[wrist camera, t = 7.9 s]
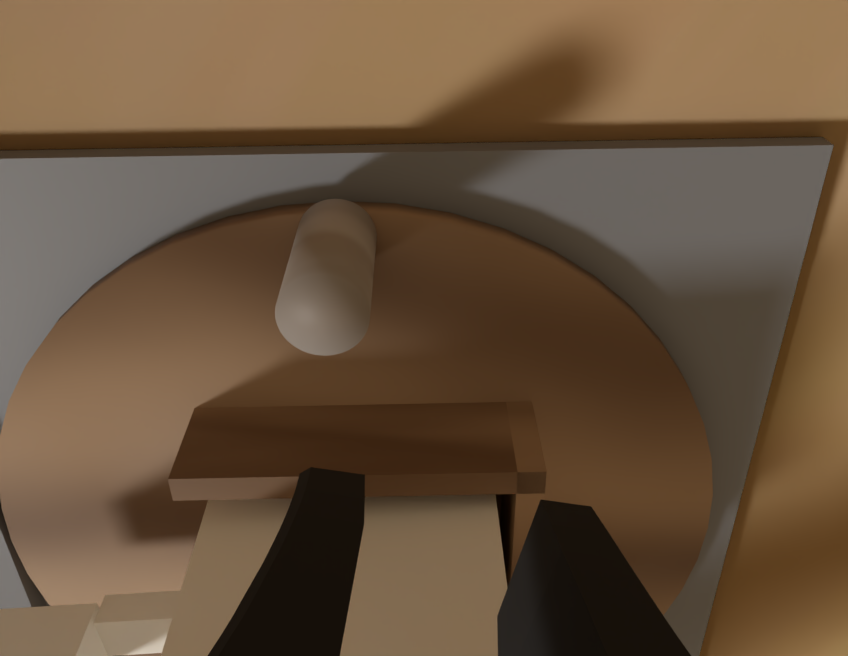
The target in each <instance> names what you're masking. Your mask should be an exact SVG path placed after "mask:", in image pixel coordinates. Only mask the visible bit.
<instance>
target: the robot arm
mask: <svg viewBox="0 0 848 656" xmlns="http://www.w3.org/2000/svg"><path fill="white" fill-rule="evenodd" d="M364 510H365V475H364V474H357V473H350V472H343V471H335V470H328V469H321V468H314V467H310V468H309V469H307V470H305V471H303V472H301V473H300V474H299V478H298V482H297V486H296V489H295V492H294V495H293V498H292V500H291V503H290V506H289V509H288V511H287V513H286V516H285V518H284V520H283V523H282V525H281V527H280V529H279V531H278V533H277V535H276V538H275V540H274V542H273V544H272V546H271V548H270V550H269V552H268V554H267V556H266V558H265V560H264V562H263V563H262V565H261V567H260V569H259V571H258V572H257V574H256V576H255V578H254V579H253V581H252V583H251V585H250V586H249V588H248V590H247V592H246V593H245V595H244V597H243V599H242V600H241V602H240V604H239V606H238V608H237V609H236V611H235V613H234V615H233V616H232V618H231V620H230V621H229V623H228V625H227V626H226V628H225V629H224V631H223V633H222V634H221V636H220V637H219V639H218V640H217V642H216V643H215V645H214V646H213V648H212V649H211V651H210V653H209V654H208V656H340V652H341V646H342V641H343V636H344V630H345V625H346V619H347V614H348V609H349V603H350V598H351V593H352V587H353V582H354V576H355V571H356V566H357V560H358V555H359V549H360V544H361V539H362V533H363V528H364ZM497 631H498V656H691V655H690V653H689V652H688V650H687V649H686V648H685V646H684V645H683V643H682V642H681V640H680V639H679V638H678V636H677V635H676V633H675V632H674V630H673V629H672V627H671V626H670V624H669V623H668V622H667V620H666V619H665V617H664V616H663V614H662V613H661V611H660V610H659V608H658V607H657V605H656V604H655V602H654V601H653V599H652V598H651V596H650V595H649V593H648V592H647V590H646V589H645V587H644V586H643V584H642V583H641V581H640V580H639V578H638V577H637V575H636V574H635V572H634V570H633V569H632V567H631V566H630V564H629V563H628V561H627V560H626V558H625V557H624V555H623V554H622V552H621V551H620V549H619V547H618V546H617V544H616V543H615V541H614V540H613V538H612V537H611V535H610V534H609V532H608V531H607V529H606V528H605V526H604V525H603V523H602V522H601V520H600V519H599V517H598V516H597V514H596V513H595V511H594V510H593V508H592V507H591V506H585V505H577V504H570V503H563V502H556V501H549V500H542V499H541V500H540V502H539V505H538V508H537V510H536V513H535V516H534V518H533V521H532V524H531V526H530V529H529V532H528V534H527V537H526V540H525V543H524V545H523V548H522V551H521V553H520V556H519V559H518V561H517V564H516V567H515V569H514V572H513V575H512V577H511V580H510V583H509V586H508V588H507V591H506V594H505V596H504V599H503V602H502V604H501V607H500V610H499V612H498V615H497Z"/></svg>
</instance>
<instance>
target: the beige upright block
mask: <svg viewBox="0 0 848 656" xmlns="http://www.w3.org/2000/svg"><path fill="white" fill-rule="evenodd" d="M291 500H292V498H284V499H233V500H208V502H207V505H206V509H205V512H204V515H203V518H202V522H201V525H200V528H199V532H198V535H197V538H196V542H195V545H194V548H193V551H192V555H191V558H190V561H189V565H188V568H187V571H186V575H185V578H184V581H183V585H182V588H181V590H180V591H164V592H148V593H131V594H115V595H105V596H104V599H103V601H102V604H101V606H100V609H99V607H98V604H97V603H92V604H75V605H59V606H43V607H26V608H10V609H0V656H118V655H135V654H152V653H162V654H161V656H208V654H209V653H210V651H211V649H212V648H213V646H214V645H215V643H216V642H217V640H218V639H219V637H220V636H221V634H222V633H223V631H224V629H225V628H226V626H227V625H228V623H229V621H230V620H231V618H232V616H233V615H234V613H235V611H236V609H237V608H238V606H239V604H240V602H241V600H242V599H243V597H244V595H245V593H246V592H247V590H248V588H249V586H250V585H251V583H252V581H253V579H254V578H255V576H256V574H257V572H258V571H259V569H260V567H261V565H262V563H263V562H264V560H265V558H266V556H267V554H268V552H269V550H270V548H271V546H272V544H273V542H274V540H275V538H276V535H277V533H278V531H279V529H280V527H281V525H282V523H283V520H284V518H285V516H286V513H287V511H288V509H289V506H290V503H291ZM506 591H507V580H506V573H505V565H504V557H503V549H502V541H501V533H500V526H499V518H498V510H497V502H496V494H488V495H437V496H386V497H365V510H364V528H363V533H362V539H361V544H360V549H359V555H358V560H357V566H356V571H355V576H354V582H353V587H352V593H351V598H350V603H349V609H348V614H347V619H346V625H345V630H344V636H343V641H342V646H341V652H340V656H498V631H497V615H498V612H499V610H500V607H501V604H502V602H503V599H504V596H505V594H506Z"/></svg>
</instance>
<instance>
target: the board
mask: <svg viewBox="0 0 848 656" xmlns="http://www.w3.org/2000/svg"><path fill="white" fill-rule="evenodd" d="M832 149H833V144H831V143H830V142H829V141H827V140H826V139H825V138H823V137H798V138H737V139H676V140H614V141H553V142H492V143H431V144H370V145H308V146H247V147H186V148H125V149H64V150H3V151H0V434H1V430H2V426H3V422H4V418H5V414H6V410H7V406H8V402H9V400H10V398H11V395H12V393H13V391H14V389H15V387H16V385H17V383H18V381H19V378H20V376H21V374H22V372H23V370H24V368H25V366H26V364H27V363H28V361H29V360H30V359H31V357H32V356H33V354H34V353H35V352H36V350H37V349H38V347H39V346H40V345H41V343H42V342H43V340H44V339H45V338H46V336H47V335H48V333H49V332H50V331H51V329H52V328H53V327H54V325H55V324H56V322H57V321H58V320H59V318H60V317H61V316H62V315H63V314H64V313H65V312H66V311H67V310H68V309H69V308H70V307H71V306H72V305H73V304H74V303H75V302H76V301H77V300H78V299H79V298H80V297H81V296H82V295H83V294H84V293H85V292H86V291H87V290H88V289H89V288H90V287H91V286H92V285H93V284H95V283H96V282H98V281H99V280H100V279H102V278H103V277H105V276H106V275H107V274H109V273H110V272H112V271H113V270H114V269H116V268H117V267H119V266H120V265H121V264H123V263H124V262H126V261H127V260H128V259H130V258H131V257H133V256H135V255H137V254H139V253H141V252H143V251H145V250H147V249H149V248H151V247H153V246H155V245H157V244H159V243H160V242H162V241H164V240H166V239H168V238H170V237H172V236H174V235H176V234H179V233H182V232H185V231H187V230H190V229H193V228H196V227H199V226H202V225H205V224H208V223H210V222H213V221H216V220H219V219H222V218H225V217H228V216H233V215H238V214H243V213H247V212H252V211H257V210H262V209H267V208H271V207H276V206H281V205H293V204H306V203H318V202H320V201H323V200H327V199H344V200H348V201H351V202H374V203H396V204H402V205H408V206H414V207H420V208H426V209H432V210H438V211H444V212H450V213H454V214H457V215H460V216H464V217H467V218H470V219H474V220H477V221H481V222H484V223H487V224H491V225H494V226H497V227H501V228H504V229H506V230H508V231H511V232H513V233H515V234H518V235H520V236H522V237H524V238H527V239H529V240H531V241H533V242H536V243H538V244H540V245H542V246H545V247H547V248H549V249H551V250H553V251H555V252H556V253H558V254H560V255H561V256H563V257H565V258H566V259H568V260H569V261H571V262H573V263H574V264H576V265H578V266H579V267H581V268H583V269H584V270H586V271H587V272H589V273H591V274H592V275H594V276H595V277H597V278H598V279H599V280H600V281H601V282H603V283H604V284H605V285H606V286H607V287H609V288H610V289H611V290H612V291H613V292H615V293H616V294H617V295H618V296H619V297H621V298H622V299H623V300H624V301H625V302H627V303H628V304H629V305H630V306H631V307H632V308H633V309H634V310H635V311H636V312H637V314H638V315H639V316H640V317H641V318H642V319H643V320H644V321H645V323H646V324H647V325H648V326H649V327H650V328H651V329H652V330H653V332H654V333H655V334H656V335H657V336H658V337H659V338H660V340H661V341H662V343H663V344H664V346H665V348H666V349H667V351H668V352H669V354H670V355H671V357H672V359H673V360H674V362H675V363H676V365H677V367H678V368H679V370H680V371H681V373H682V375H683V377H684V379H685V381H686V383H687V385H688V387H689V389H690V391H691V394H692V396H693V399H694V401H695V403H696V406H697V408H698V411H699V413H700V415H701V418H702V420H703V423H704V426H705V431H706V435H707V440H708V445H709V449H710V454H711V459H712V484H713V497H712V504H711V510H710V517H709V524H708V529H707V532H706V535H705V538H704V541H703V544H702V547H701V551H700V554H699V557H698V560H697V562H696V564H695V566H694V567H693V569H692V571H691V573H690V575H689V577H688V579H687V581H686V583H685V585H684V587H683V589H682V590H681V592H680V593H679V595H678V596H677V597H676V599H675V600H674V601H673V603H672V604H671V606H670V607H669V608H668V610H667V611H666V613H665V614H664V615H663V616H664V617H665V619H666V620H667V622H668V623H669V624H670V626H671V627H672V629H673V630H674V632H675V633H676V635H677V636H678V638H679V639H680V640H681V642H682V643H683V645H684V646H685V648H686V649H687V650H688V652H689V653H690V655H691V656H699V655H700V651H701V647H702V643H703V639H704V636H705V632H706V628H707V624H708V620H709V617H710V613H711V609H712V605H713V601H714V598H715V594H716V590H717V586H718V582H719V579H720V575H721V571H722V567H723V563H724V560H725V556H726V552H727V548H728V544H729V541H730V537H731V533H732V529H733V525H734V522H735V518H736V514H737V510H738V506H739V503H740V499H741V495H742V491H743V487H744V484H745V480H746V476H747V472H748V468H749V465H750V461H751V457H752V453H753V449H754V446H755V442H756V438H757V434H758V430H759V427H760V423H761V419H762V415H763V411H764V408H765V404H766V400H767V396H768V392H769V389H770V385H771V381H772V377H773V373H774V370H775V366H776V362H777V358H778V354H779V351H780V347H781V343H782V339H783V335H784V332H785V328H786V324H787V320H788V316H789V313H790V309H791V305H792V301H793V297H794V294H795V290H796V286H797V282H798V278H799V275H800V271H801V267H802V263H803V259H804V256H805V252H806V248H807V244H808V240H809V237H810V233H811V229H812V225H813V221H814V218H815V214H816V210H817V206H818V202H819V199H820V195H821V191H822V187H823V183H824V180H825V176H826V172H827V168H828V164H829V161H830V157H831V153H832ZM43 606H50V605H49V604H48V603H47V601H46V600H45V598H44V597H43V596H42V594H41V593H40V591H39V590H38V588H37V587H36V585H35V584H34V582H33V581H32V580H31V578H30V577H29V575H28V574H27V572H26V570H25V568H24V566H23V564H22V562H21V560H20V558H19V556H18V554H17V552H16V549H15V547H14V545H13V543H12V541H11V538H10V534H9V531H8V528H7V525H6V521H5V518H4V515H3V512H2V508H1V500H0V609H10V608H26V607H43Z"/></svg>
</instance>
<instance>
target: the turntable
mask: <svg viewBox="0 0 848 656" xmlns="http://www.w3.org/2000/svg"><path fill="white" fill-rule="evenodd" d="M310 467H314V468H321V469H328V470H335V471H343V472H350V473H357V474H364V475H365V497H386V496H437V495H488V494H496V502H497V510H498V518H499V526H500V533H501V541H502V549H503V557H504V565H505V573H506V580H507V588H508V586H509V583H510V580H511V577H512V575H513V572H514V569H515V567H516V564H517V561H518V559H519V556H520V553H521V551H522V548H523V545H524V543H525V540H526V537H527V534H528V532H529V529H530V526H531V524H532V521H533V518H534V516H535V513H536V510H537V508H538V505H539V502H540V500H541V499H542V500H549V501H556V502H563V503H570V504H577V505H585V506H591V507H592V508H593V510H594V511H595V513H596V514H597V516H598V517H599V519H600V520H601V522H602V523H603V525H604V526H605V528H606V529H607V531H608V532H609V534H610V535H611V537H612V538H613V540H614V541H615V543H616V544H617V546H618V547H619V549H620V551H621V552H622V554H623V555H624V557H625V558H626V560H627V561H628V563H629V564H630V566H631V567H632V569H633V570H634V572H635V574H636V575H637V577H638V578H639V580H640V581H641V583H642V584H643V586H644V587H645V589H646V590H647V592H648V593H649V595H650V596H651V598H652V599H653V601H654V602H655V604H656V605H657V607H658V608H659V610H660V611H661V613H662V614H663V615H664V614H665V613H666V611H667V610H668V608H669V607H670V606H671V604H672V603H673V601H674V600H675V599H676V597H677V596H678V595H679V593H680V592H681V590H682V589H683V587H684V585H685V583H686V581H687V579H688V577H689V575H690V573H691V571H692V569H693V567H694V566H695V564H696V562H697V560H698V557H699V554H700V551H701V547H702V544H703V541H704V538H705V535H706V532H707V529H708V524H709V517H710V510H711V504H712V497H713V484H712V459H711V454H710V449H709V445H708V440H707V435H706V431H705V426H704V423H703V420H702V418H701V415H700V413H699V411H698V408H697V406H696V403H695V401H694V399H693V396H692V394H691V391H690V389H689V387H688V385H687V383H686V381H685V379H684V377H683V375H682V373H681V371H680V370H679V368H678V367H677V365H676V363H675V362H674V360H673V359H672V357H671V355H670V354H669V352H668V351H667V349H666V348H665V346H664V344H663V343H662V341H661V340H660V338H659V337H658V336H657V335H656V334H655V333H654V332H653V330H652V329H651V328H650V327H649V326H648V325H647V324H646V323H645V321H644V320H643V319H642V318H641V317H640V316H639V315H638V314H637V312H636V311H635V310H634V309H633V308H632V307H631V306H630V305H629V304H628V303H627V302H625V301H624V300H623V299H622V298H621V297H619V296H618V295H617V294H616V293H615V292H613V291H612V290H611V289H610V288H609V287H607V286H606V285H605V284H604V283H603V282H601V281H600V280H599V279H598V278H597V277H595V276H594V275H592V274H591V273H589V272H587V271H586V270H584V269H583V268H581V267H579V266H578V265H576V264H574V263H573V262H571V261H569V260H568V259H566V258H565V257H563V256H561V255H560V254H558V253H556V252H555V251H553V250H551V249H549V248H547V247H545V246H542V245H540V244H538V243H536V242H533V241H531V240H529V239H527V238H524V237H522V236H520V235H518V234H515V233H513V232H511V231H508V230H506V229H504V228H501V227H497V226H494V225H491V224H487V223H484V222H481V221H477V220H474V219H470V218H467V217H464V216H460V215H457V214H454V213H450V212H444V211H438V210H432V209H426V208H420V207H414V206H408V205H402V204H396V203H374V202H351V201H348V200H344V199H327V200H323V201H320V202H318V203H306V204H293V205H281V206H276V207H271V208H267V209H262V210H257V211H252V212H247V213H243V214H238V215H233V216H228V217H225V218H222V219H219V220H216V221H213V222H210V223H208V224H205V225H202V226H199V227H196V228H193V229H190V230H187V231H185V232H182V233H179V234H176V235H174V236H172V237H170V238H168V239H166V240H164V241H162V242H160V243H159V244H157V245H155V246H153V247H151V248H149V249H147V250H145V251H143V252H141V253H139V254H137V255H135V256H133V257H131V258H130V259H128V260H127V261H126V262H124V263H123V264H121V265H120V266H119V267H117V268H116V269H114V270H113V271H112V272H110V273H109V274H107V275H106V276H105V277H103V278H102V279H100V280H99V281H98V282H96V283H95V284H93V285H92V286H91V287H90V288H89V289H88V290H87V291H86V292H85V293H84V294H83V295H82V296H81V297H80V298H79V299H78V300H77V301H76V302H75V303H74V304H73V305H72V306H71V307H70V308H69V309H68V310H67V311H66V312H65V313H64V314H63V315H62V316H61V317H60V318H59V320H58V321H57V322H56V324H55V325H54V327H53V328H52V329H51V331H50V332H49V333H48V335H47V336H46V338H45V339H44V340H43V342H42V343H41V345H40V346H39V347H38V349H37V350H36V352H35V353H34V354H33V356H32V357H31V359H30V360H29V361H28V363H27V364H26V366H25V368H24V370H23V372H22V374H21V376H20V378H19V381H18V383H17V385H16V387H15V389H14V391H13V393H12V395H11V398H10V400H9V402H8V406H7V410H6V414H5V418H4V422H3V426H2V430H1V434H0V500H1V508H2V512H3V515H4V518H5V521H6V525H7V528H8V531H9V534H10V538H11V541H12V543H13V545H14V547H15V549H16V552H17V554H18V556H19V558H20V560H21V562H22V564H23V566H24V568H25V570H26V572H27V574H28V575H29V577H30V578H31V580H32V581H33V582H34V584H35V585H36V587H37V588H38V590H39V591H40V593H41V594H42V596H43V597H44V598H45V600H46V601H47V603H48V604H49V605H50V606H59V605H75V604H92V603H97V604H98V607H99V609H100V606H101V604H102V601H103V599H104V596H105V595H115V594H131V593H148V592H164V591H180V590H181V588H182V585H183V581H184V578H185V575H186V571H187V568H188V565H189V561H190V558H191V555H192V551H193V548H194V545H195V542H196V538H197V535H198V532H199V528H200V525H201V522H202V518H203V515H204V512H205V509H206V505H207V502H208V500H233V499H284V498H293V495H294V492H295V489H296V486H297V482H298V478H299V474H300V473H301V472H303V471H305V470H307V469H309V468H310ZM161 654H162V653H152V654H135V655H118V656H161Z"/></svg>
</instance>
